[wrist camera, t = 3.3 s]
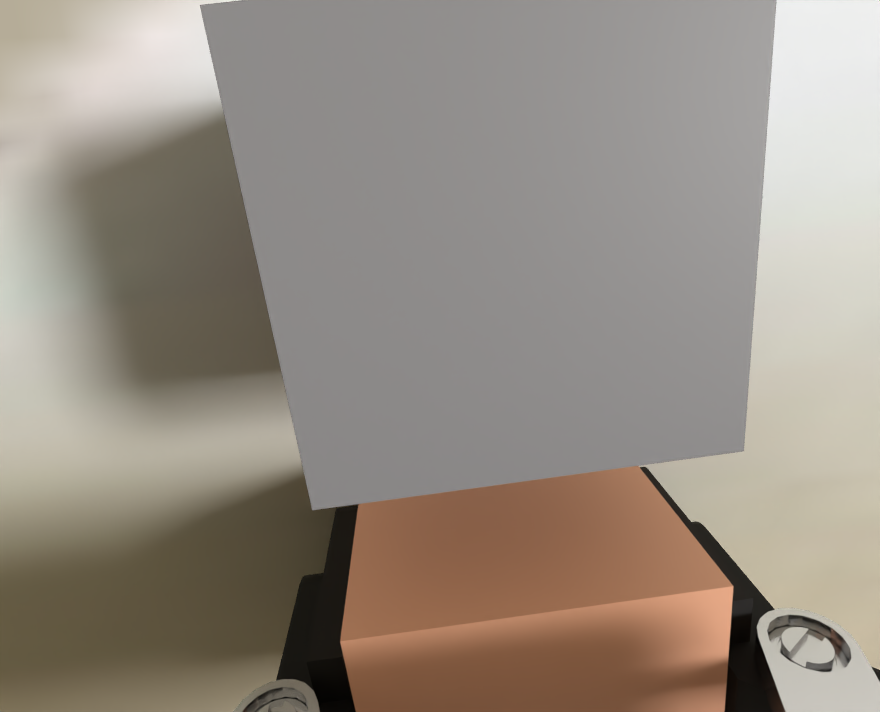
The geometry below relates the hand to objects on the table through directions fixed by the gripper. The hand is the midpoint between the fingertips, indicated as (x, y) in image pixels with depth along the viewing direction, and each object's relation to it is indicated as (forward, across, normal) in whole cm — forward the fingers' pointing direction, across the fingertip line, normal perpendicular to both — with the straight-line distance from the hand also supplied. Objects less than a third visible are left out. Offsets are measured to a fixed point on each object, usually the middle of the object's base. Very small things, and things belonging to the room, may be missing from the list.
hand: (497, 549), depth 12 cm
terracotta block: (+1, 0, 0) cm, 1 cm away
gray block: (+1, 0, -7) cm, 7 cm away
